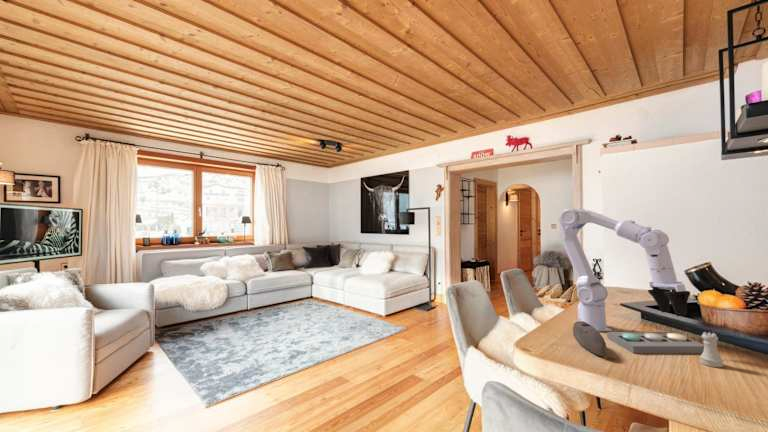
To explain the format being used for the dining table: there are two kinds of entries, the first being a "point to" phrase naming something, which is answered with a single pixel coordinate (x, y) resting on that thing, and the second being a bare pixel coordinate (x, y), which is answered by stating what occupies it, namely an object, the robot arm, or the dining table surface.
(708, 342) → the rook chess piece
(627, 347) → the button board
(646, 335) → the grey button
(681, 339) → the cream button
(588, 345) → the perforated stone tool
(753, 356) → the dining table surface
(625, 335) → the teal button
